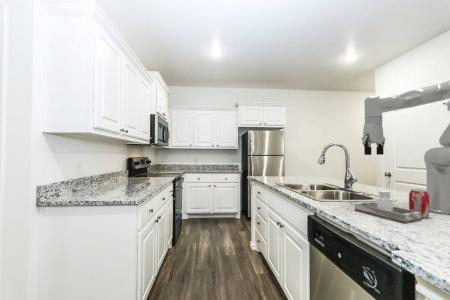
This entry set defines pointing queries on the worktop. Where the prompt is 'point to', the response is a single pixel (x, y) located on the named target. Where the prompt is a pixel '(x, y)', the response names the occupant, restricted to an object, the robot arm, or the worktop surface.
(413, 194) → the soda can
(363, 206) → the silver picture frame
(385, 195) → the downlight
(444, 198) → the robot arm
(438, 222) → the worktop surface
